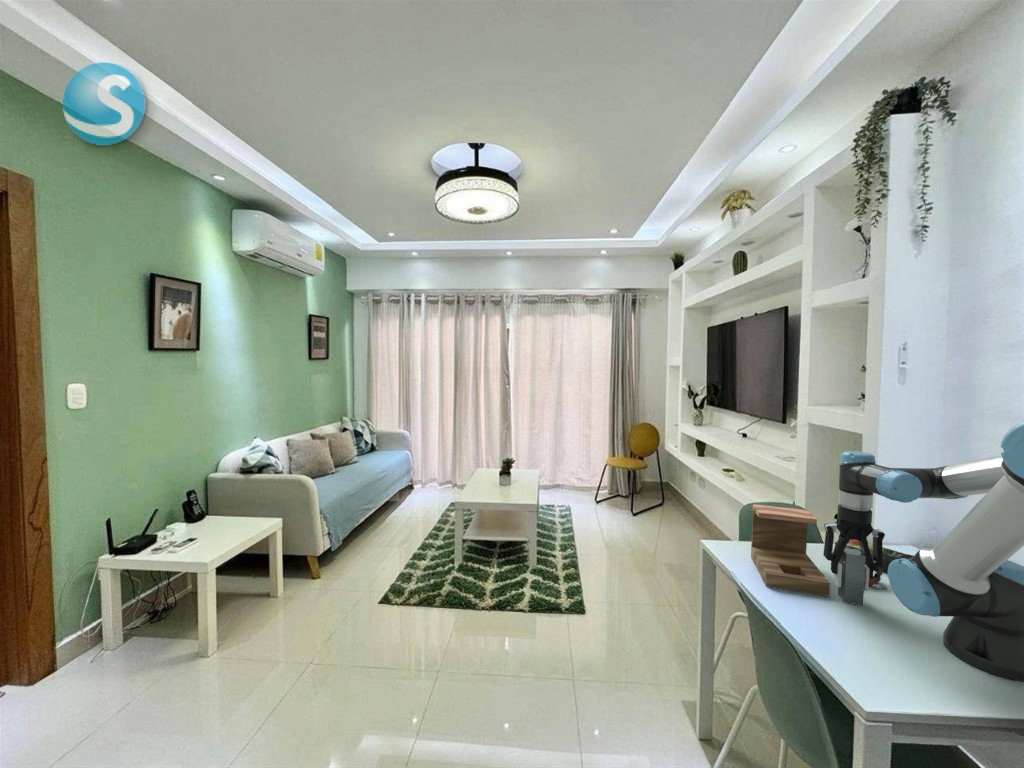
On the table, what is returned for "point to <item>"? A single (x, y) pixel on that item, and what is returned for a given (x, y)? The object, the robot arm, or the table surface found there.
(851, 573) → the peg
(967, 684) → the table surface
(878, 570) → the brown ring shaped figurine
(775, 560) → the socket stand
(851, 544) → the juice carton
